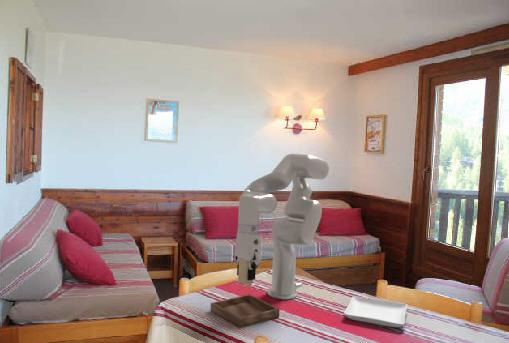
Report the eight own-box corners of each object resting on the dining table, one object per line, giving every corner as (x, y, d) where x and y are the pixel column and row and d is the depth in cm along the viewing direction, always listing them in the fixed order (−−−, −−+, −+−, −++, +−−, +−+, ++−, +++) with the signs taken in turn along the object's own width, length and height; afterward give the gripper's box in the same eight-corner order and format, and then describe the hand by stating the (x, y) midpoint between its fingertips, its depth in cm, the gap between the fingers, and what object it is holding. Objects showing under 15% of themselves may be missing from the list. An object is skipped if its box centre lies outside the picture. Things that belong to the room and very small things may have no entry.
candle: (251, 285, 162) (252, 258, 161) (236, 283, 163) (237, 256, 162) (254, 280, 167) (255, 254, 166) (239, 279, 168) (241, 253, 167)
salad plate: (342, 321, 164) (343, 312, 163) (352, 302, 183) (353, 294, 183) (403, 333, 156) (404, 324, 156) (407, 312, 176) (407, 303, 175)
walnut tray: (248, 301, 179) (249, 294, 178) (279, 316, 165) (279, 308, 164) (210, 310, 167) (210, 303, 167) (239, 328, 153) (239, 319, 153)
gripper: (271, 232, 159) (268, 282, 160) (242, 223, 172) (240, 269, 174) (254, 234, 154) (252, 285, 156) (226, 225, 168) (224, 272, 169)
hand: (245, 276), depth 165 cm, fingers closed on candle, 5 cm apart
